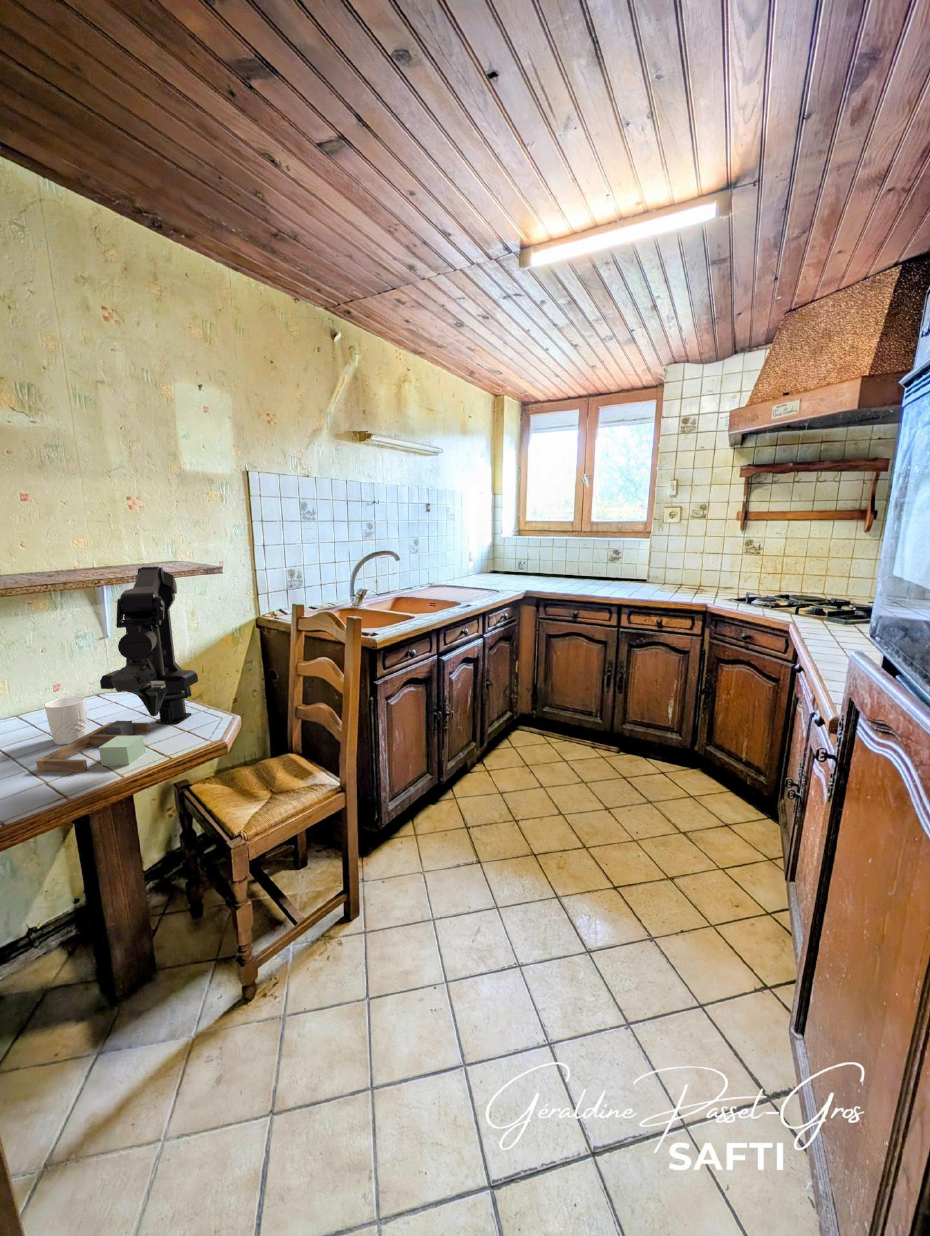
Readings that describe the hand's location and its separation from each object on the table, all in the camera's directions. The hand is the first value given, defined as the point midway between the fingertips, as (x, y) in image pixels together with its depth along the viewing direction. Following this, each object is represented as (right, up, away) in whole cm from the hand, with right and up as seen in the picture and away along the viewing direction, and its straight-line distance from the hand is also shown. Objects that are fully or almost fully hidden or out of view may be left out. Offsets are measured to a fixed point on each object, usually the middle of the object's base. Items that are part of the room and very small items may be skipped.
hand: (154, 715), depth 107 cm
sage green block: (-8, -11, +2) cm, 14 cm away
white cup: (-29, -9, +13) cm, 33 cm away
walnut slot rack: (-18, -10, +7) cm, 21 cm away
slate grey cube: (-17, -9, +13) cm, 23 cm away
